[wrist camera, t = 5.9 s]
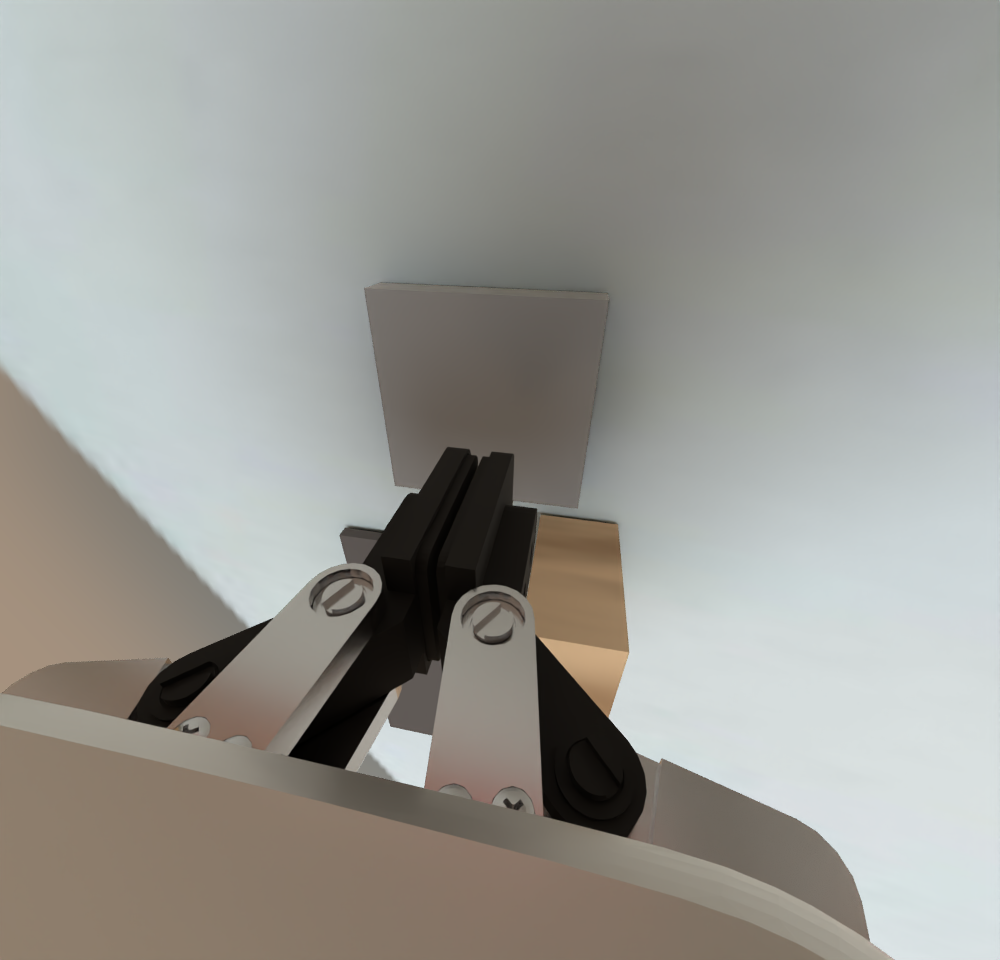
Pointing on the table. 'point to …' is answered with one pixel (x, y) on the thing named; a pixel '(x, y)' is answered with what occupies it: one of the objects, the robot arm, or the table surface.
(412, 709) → the mat
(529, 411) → the tile
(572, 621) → the tan stepped block piece
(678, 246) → the table surface
